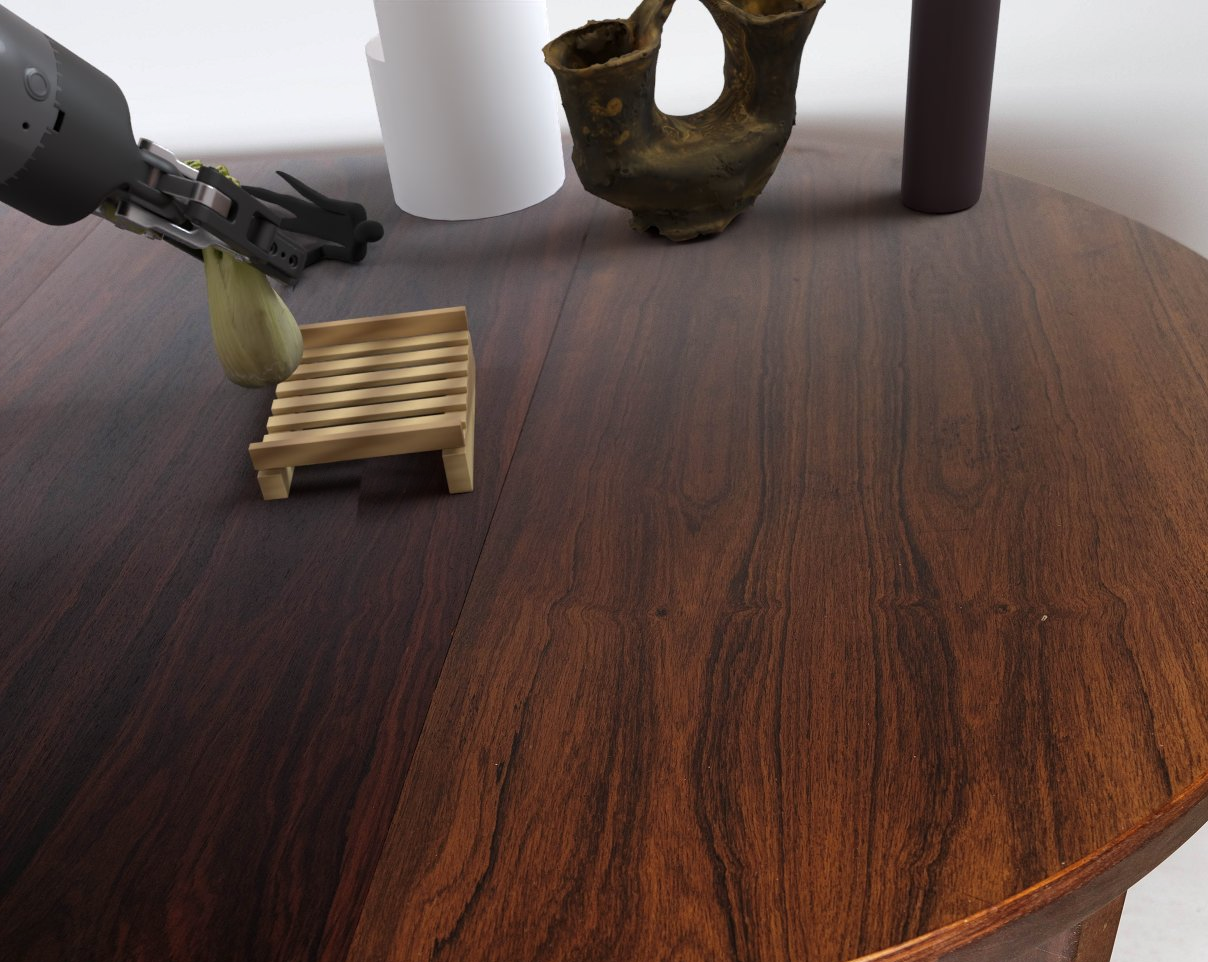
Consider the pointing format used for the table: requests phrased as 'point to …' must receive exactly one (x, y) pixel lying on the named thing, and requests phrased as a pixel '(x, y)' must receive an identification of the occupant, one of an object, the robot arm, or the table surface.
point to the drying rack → (375, 397)
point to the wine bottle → (948, 102)
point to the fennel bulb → (248, 319)
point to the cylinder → (466, 105)
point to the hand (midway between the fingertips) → (258, 258)
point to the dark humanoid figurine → (324, 221)
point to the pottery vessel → (689, 142)
